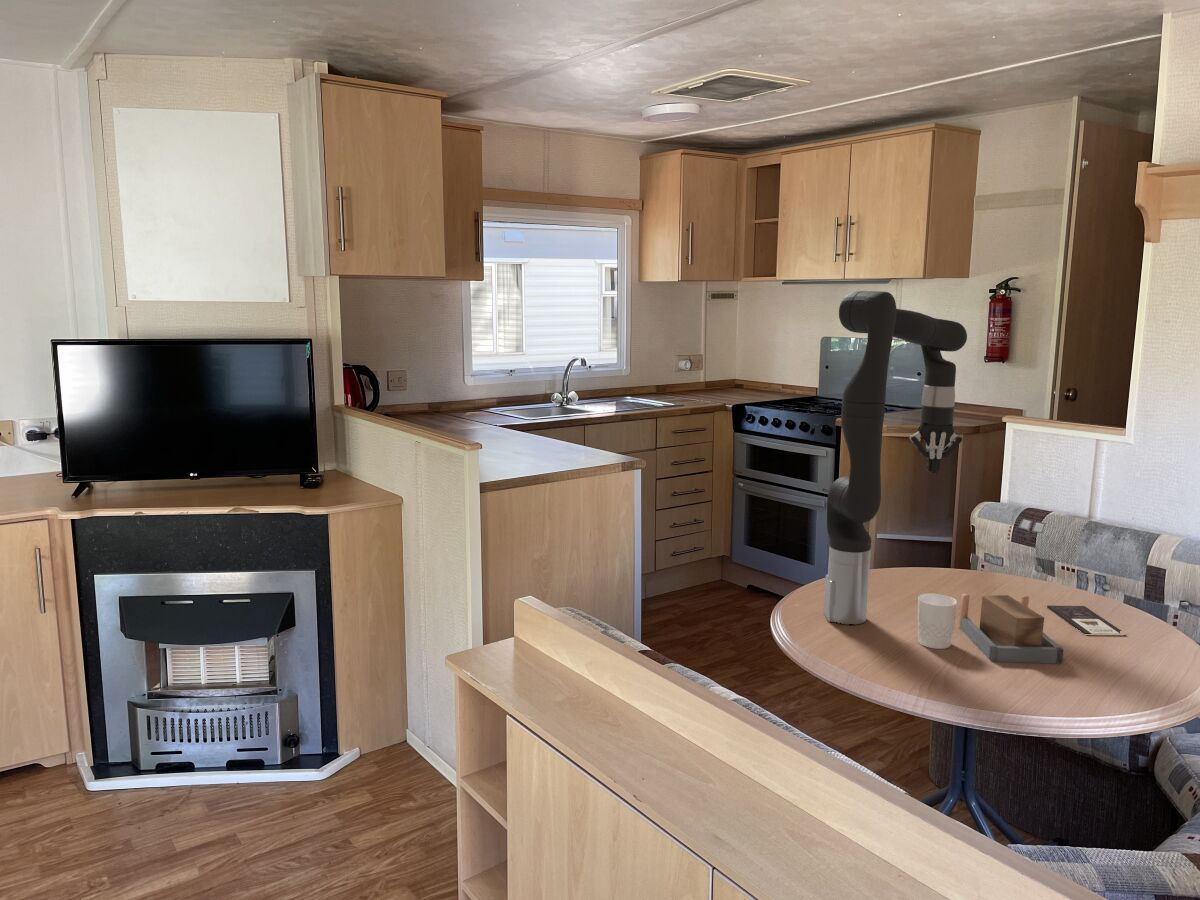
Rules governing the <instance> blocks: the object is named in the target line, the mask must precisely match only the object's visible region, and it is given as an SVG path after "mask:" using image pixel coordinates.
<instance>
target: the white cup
mask: <svg viewBox="0 0 1200 900" xmlns="http://www.w3.org/2000/svg"><path fill="white" fill-rule="evenodd" d="M957 604H958V601H957V599H955V598H954V597H951V596H949V595H945V594H939V593H923V594H920V595H918V597H917V643H918V644H920V645H921V646H923V647H926V648H929V649H936V650H945V649H948V648H950V647H951V645H952V635H953V633H954V628H955V627H954V626H955V621H956V612H957V606H958V605H957Z"/></svg>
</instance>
